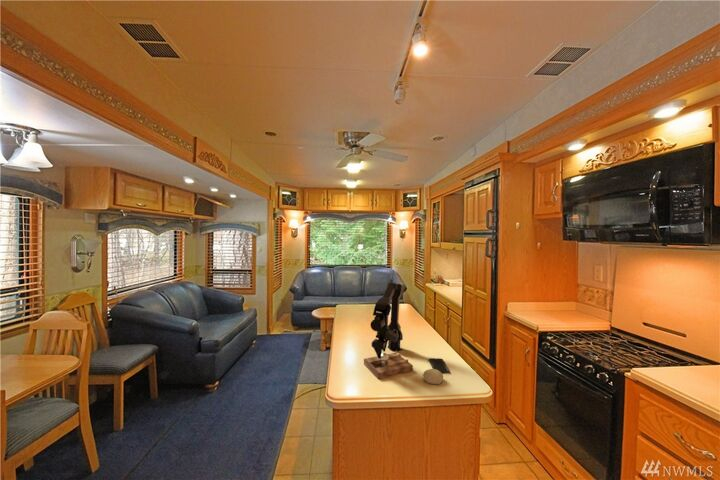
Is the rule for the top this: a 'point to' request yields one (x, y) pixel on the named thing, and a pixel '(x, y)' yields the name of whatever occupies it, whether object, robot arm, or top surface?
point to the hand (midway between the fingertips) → (381, 354)
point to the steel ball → (384, 358)
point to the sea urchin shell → (433, 376)
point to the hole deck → (388, 366)
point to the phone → (439, 365)
